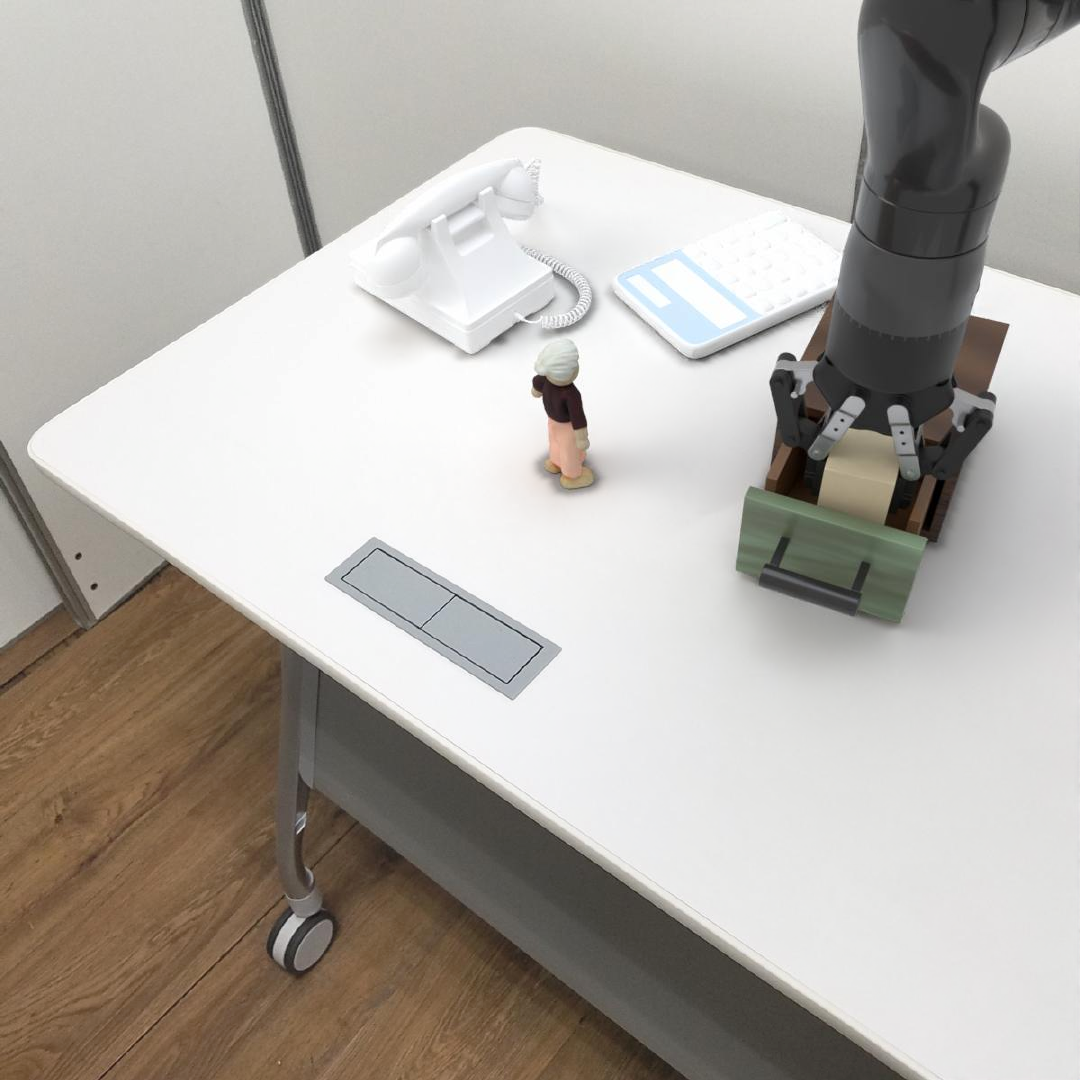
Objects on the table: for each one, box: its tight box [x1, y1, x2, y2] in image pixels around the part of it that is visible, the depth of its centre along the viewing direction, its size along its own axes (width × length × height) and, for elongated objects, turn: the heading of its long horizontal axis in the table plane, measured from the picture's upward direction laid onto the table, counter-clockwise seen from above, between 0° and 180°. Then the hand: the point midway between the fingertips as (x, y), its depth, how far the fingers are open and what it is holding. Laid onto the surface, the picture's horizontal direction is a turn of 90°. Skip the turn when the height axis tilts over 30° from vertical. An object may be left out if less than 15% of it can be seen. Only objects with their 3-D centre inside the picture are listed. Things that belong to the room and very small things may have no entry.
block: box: [817, 428, 900, 525], centre depth 73 cm, size 4×4×4 cm
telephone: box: [348, 157, 593, 355], centre depth 100 cm, size 25×21×12 cm
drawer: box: [735, 415, 938, 624], centre depth 77 cm, size 18×12×8 cm
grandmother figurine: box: [530, 337, 595, 490], centre depth 84 cm, size 8×4×13 cm, turn 42°
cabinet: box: [769, 288, 1010, 543], centre depth 84 cm, size 15×13×10 cm
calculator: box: [611, 210, 843, 360], centre depth 102 cm, size 13×20×2 cm, turn 121°
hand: (855, 496), depth 75 cm, fingers closed on block, 4 cm apart
